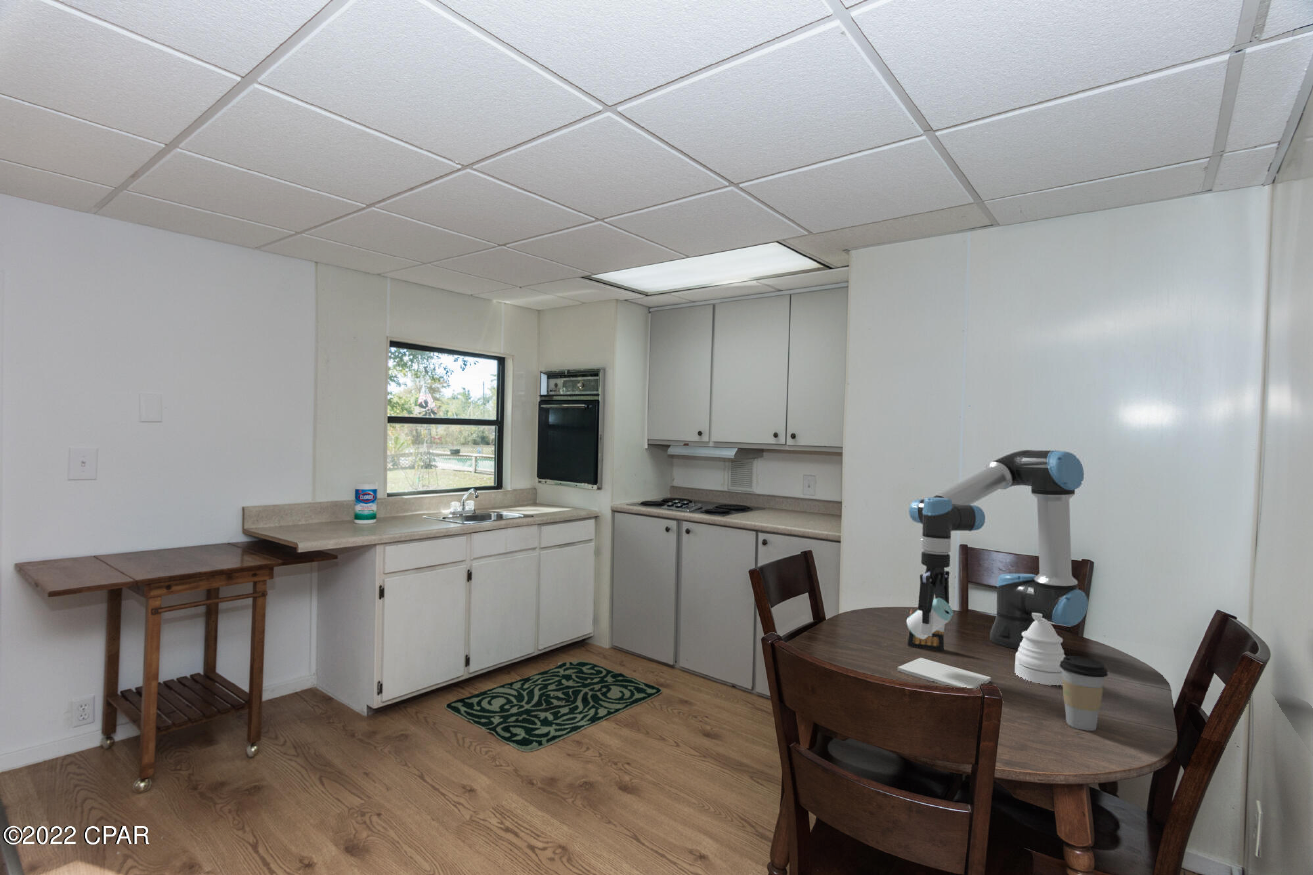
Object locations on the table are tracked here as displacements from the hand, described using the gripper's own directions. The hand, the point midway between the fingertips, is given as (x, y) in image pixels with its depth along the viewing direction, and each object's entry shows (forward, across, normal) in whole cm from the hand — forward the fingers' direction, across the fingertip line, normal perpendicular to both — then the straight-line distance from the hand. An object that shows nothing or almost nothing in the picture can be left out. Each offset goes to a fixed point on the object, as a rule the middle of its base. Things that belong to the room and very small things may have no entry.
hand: (932, 632), depth 182 cm
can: (+1, 0, -6) cm, 6 cm away
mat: (+11, 0, +3) cm, 12 cm away
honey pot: (+12, -23, +21) cm, 33 cm away
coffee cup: (+12, +6, +38) cm, 40 cm away
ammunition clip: (+12, -21, -12) cm, 27 cm away
